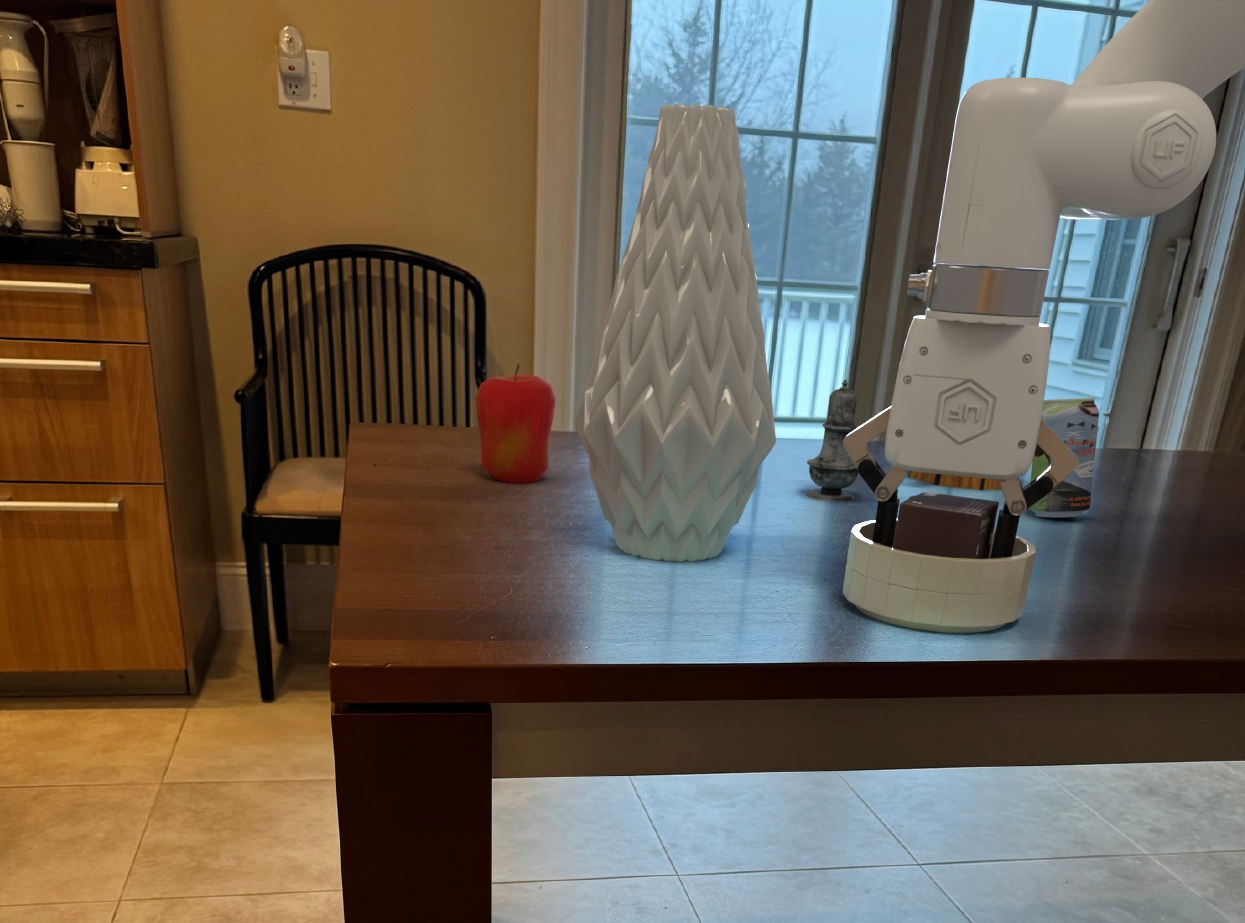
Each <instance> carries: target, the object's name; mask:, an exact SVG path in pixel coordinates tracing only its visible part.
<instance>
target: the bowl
mask: <svg viewBox="0 0 1245 923" xmlns="http://www.w3.org/2000/svg"><path fill="white" fill-rule="evenodd" d="M875 520H876V519H875ZM875 520H873V519H872V520H868V521H863V522H861V523H860V522H859V523H858V524H855V525H853V527H852V529H851V531H850V536H849V543H848V549H847V557H846V564H845V571H844V578H843V585H842V595H843V596H844V598H845V600H846V601H848V602H849V603H852V604H853V605H854V606H855V608H856V609H857V610H858V611H860V612H861V613H863V614H865V615H867V616H868V617H870V618H873V619H875V620H879V621H882V622H884V623H888V624H891V625H894V626H895V625H896V626H900V627H905V628H909V629H913V630H915V629H916V630H921V631H929V632H938V633H959V634H960V633H962V634H963V633H965V634H966V633H981V632H988V631H992V630H993V631H994V630H997V629H999V628H1002V627H1003V626H1006V624H1008V623H1013V622H1015V621H1016V620H1019V619H1020V618H1021V617H1022V616H1023V614H1024V610H1025V606H1026V600H1027V596H1028V592H1029V587H1030V583H1031V577H1032V573H1033V569H1034V568H1033V567H1034V564H1035V558H1036V554H1037V550H1036V549H1037V548H1036V545H1035V544H1033V543H1032V542H1030V541H1029V540H1028V539H1026V538H1024V537H1022V536H1019V535H1016V538H1015V543H1014V548H1013V553H1012V557H1002V558H996V559H990V557H991V551H992V546H993V541H994V536H995V531H996V528H994V533H993V539H992V544H991V549H990V555H989V559H966V558H949V557H940V556H932V555H923V554H918V553H912V552H907V551H902V550H897V549H894V548H893V547H892V548H890V547H887V546H883V545H881V543H875V542H872V541H873V533H874V526H875ZM896 524H897V521H896ZM895 531H896V528H895ZM894 537H895V534H894ZM893 544H894V540H893Z"/></svg>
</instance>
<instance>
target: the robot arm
mask: <svg viewBox="0 0 1245 923" xmlns="http://www.w3.org/2000/svg"><path fill="white" fill-rule="evenodd" d="M1244 68H1245V0H1148V1H1147V2H1146V3H1145V4H1144V5H1143V6H1142V7H1141V8H1140V9H1139V10H1138V11H1137V12H1136V13H1135V14H1134V15H1133V16H1132V17H1131V18H1130V19H1129V20H1128V21H1127V22H1126V23H1125V24H1123V26H1122V27H1120V29H1119V30H1118V31H1117V32H1116V33H1115V34H1114V35H1113V36H1112V37H1111V39H1109V40H1108V41H1107V43H1106V44H1105V45H1104V46H1103V47H1102V49H1101V50H1100V51H1099V52H1098V53H1097V54H1096V55H1095V56H1094V57H1093V58H1092V60H1091V61H1090V62H1089V63H1088V64H1087V66H1085V68H1084V69H1083V70H1082V72H1080V74H1079V75H1078V76H1077V77H1076V79H1075V80H1074V81H1072V83H1071V84H1069V83H1066V82H1064V81H1061V80H1055V79H1048V78H1038V77H1000V78H990V79H985V80H982V81H978V82H976V83H974V84H973V85H971V86H970V87H969V88H967V90H966V91H965V92H964V93H963V95H962V97H961V99H960V101H959V104H958V107H957V111H956V117H955V121H954V129H953V135H952V141H951V148H950V153H949V158H948V159H949V160H948V166H947V172H946V179H945V180H946V181H945V186H944V192H943V199H942V203H941V204H942V205H941V211H940V218H939V224H938V230H937V231H938V232H937V238H936V244H935V252H934V256H933V263H934V265H931V270H930V269H929V270H927V272H921V273H920V274H909V278H908V283H907V291H906V296H907V297H917V299H922V302H923V303H926V304H925V308H926V309H925V314H924V315H915V316H913V319H912V321H911V323H910V326H909V330H908V332H907V336H906V339H905V342H904V346H903V349H902V353H901V355H900V356H901V357H900V361H899V365H898V370H897V375H896V379H895V384H894V390H893V394H892V400H891V404H890V406H889V407H888V408H886V409H884V410H883V411H881V412H879V413H878V414H877V415H875V416H874V417H872V418H870V419H869V420H867V421H866V422H865V423H863V424H861V425H860V426H858V427H857V428H856V429H855V430H854V431H852V432H851V433H849V434H848V435H847V436H846V437H845V438H844V440H843V445H844V448H845V449H846V451H847V453H848V454H849V456H850V458H851V460H852V461H853V463H854V464H855V466H856V468H857V469H858V475H859V476H860V477H861V478H862V480H863V481H864V482H865V484H866V485H867V487H869V489H870V490H871V492H872V493H873V494H874V497H875V498H876V500H877V507H876V514H875V526H874V533H873V541H872V542H875V543H881V545H883V546H887V547H890V548H892V547H893V540H894V534H895V528H896V521H897V519H898V513H899V505H900V503H901V502H900V501H901V498H898V497H899V496H898V492H899V490H898V488H899V487H900V485H901V484H902V482H903V481H904V480H905V479H906V478H907V477H908V475H909V472H910V471H917V472H925V473H935V474H945V475H955V476H965V477H976V478H987V479H998V480H999V483H1000V486H1001V489H1000V490H1001V492H1002V494H1003V497H1004V502H1003V506H1002V509H1001V508H1000V509H999V512H998V516H997V520H996V521H997V522H996V525H995V526H996V527H995V529H996V531H995V536H994V541H993V546H992V551H991V557H990V559H996V558H1002V557H1012V553H1013V548H1014V543H1015V538H1016V536H1017V532H1018V527H1019V524H1020V523H1019V522H1020V518H1021V515H1023V514H1024V513H1025V512H1026V511H1027V510H1029V508H1030V507H1031V506H1032V505H1034V504H1035V503H1036V502H1038V501H1039V500H1041V499H1042V498H1043V497H1045V496H1046V495H1047V494H1049V493H1050V492H1051V491H1052V489H1053V488H1054V487H1056V486H1057V485H1058V484H1059V483H1060V482H1062V481H1063V480H1064V479H1065V478H1066V477H1067V476H1068V475H1069V474H1070V473H1071V472H1073V471H1074V470H1075V469H1076V468H1077V466H1078V464H1079V460H1078V457H1077V456H1076V454H1075V453H1074V452H1073V451H1072V450H1071V449H1070V448H1069V447H1068V446H1067V445H1066V444H1065V443H1064V442H1063V441H1062V440H1061V439H1060V438H1059V437H1058V436H1057V434H1056V433H1055V432H1054V431H1053V430H1052V429H1051V428H1050V427H1049V426H1048V425H1047V424H1046V423H1045V422H1044V421H1043V420H1042V419H1041V416H1042V410H1043V403H1044V400H1045V395H1046V389H1047V383H1048V374H1049V365H1050V353H1051V352H1050V351H1051V325H1049V324H1046V323H1040V320H1041V315H1042V310H1043V307H1044V306H1043V305H1044V300H1045V295H1046V290H1047V285H1048V281H1049V280H1048V279H1049V275H1050V271H1049V270H1051V265H1052V260H1053V255H1054V249H1055V245H1056V241H1057V235H1058V230H1059V225H1060V220H1061V219H1060V218H1063V219H1067V220H1106V221H1115V220H1117V221H1118V220H1119V221H1120V220H1123V221H1124V220H1139V219H1145V218H1150V217H1153V216H1155V215H1159V214H1161V213H1164V212H1167V211H1168V210H1170V209H1173V208H1174V207H1176V206H1177V205H1178V204H1180V203H1181V202H1183V201H1184V200H1185V199H1186V198H1188V197H1189V196H1190V195H1191V194H1192V193H1193V192H1194V191H1195V190H1196V189H1197V187H1198V186H1199V185H1200V183H1201V182H1202V181H1203V180H1204V178H1205V177H1206V175H1207V173H1208V171H1209V169H1210V167H1211V164H1212V162H1213V159H1214V156H1215V153H1216V152H1215V151H1216V145H1217V128H1216V123H1215V120H1214V116H1213V114H1212V111H1211V109H1210V108H1209V106H1208V105H1207V103H1206V102H1205V101H1204V98H1205V97H1206V96H1207V95H1209V94H1210V93H1212V92H1213V90H1215V89H1216V88H1218V87H1219V86H1220V85H1221V84H1223V83H1224V82H1226V81H1227V80H1229V79H1230V78H1231V77H1232V76H1234V75H1236V74H1237V73H1238V72H1240V71H1241V70H1243V69H1244ZM884 432H885V433H886V434H885V442H884V456H885V460H886V462H888V463H889V464H890V465H891V467H890V468H889V469H888V471H887V472H885V471H884V469H883V468H882V467H881V465H880V464H879V463H878V462H877V460H876V459H875V458H874V457H873V455H872V453H871V451H870V449H869V443H870V442H871V441H872V440H874V439H875V438H877V437H879V436H881V435H882V434H883V433H884ZM1036 444H1038V445H1039V446H1040V447H1041V448H1042V450H1043V451H1044V452H1045V453H1046V454H1047V455H1048V456H1049V457H1050V458H1051V459H1052V464H1051V465H1050V466H1049V467H1048V468H1047V469H1046V470H1045V471H1044V472H1043V473H1042V474H1041V475H1039V476H1038V477H1036V478H1035V479H1034V480H1032V481H1031V480H1030V481H1029V482H1028V483H1027V484H1026V485H1024V486H1023V485H1022V482H1021V478H1020V477H1023V476H1024V475H1026V474H1027V472H1028V471H1029V470H1030V469H1031V467H1032V460H1033V457H1034V453H1035V448H1036Z"/></svg>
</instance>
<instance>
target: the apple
mask: <svg viewBox="0 0 1245 923" xmlns="http://www.w3.org/2000/svg"><path fill="white" fill-rule="evenodd" d="M516 364H517V365H516V368H515V372H514V375H503V376H502V375H501V376H492V377H490V378H488V379H487V380H485V381H482V382H481V383H480V384H479V388H478V390H477V392H476V395H475V398H474V400H475V408H476V409H475V410H476V419H477V425H478V431H479V436H480V452H481V466H482V467H483V468H484V469H485V470H486V471H487V472H488V473H489V475H491V477H493V478H494V479H495V480H497V481H500V482H503V483H511V484H529V483H535V482H538V481H539V480H540V479H541V478H542V476H543V475H544V474H546V472H547V471H548V469H549V464H550V462H549V458H550V457H549V455H550V437H551V433H552V427H553V421H554V414H555V408H556V400H557V397H556V394H555V391H554V390H553V386H552V384H551V383H549V382H548V381H546V380H544V379H543V378H542V377H539V376H538V375H534V374H533V375H532V374H519V375H518V373H519V370H520V367H521V366H520V364H519V363H516Z"/></svg>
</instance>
